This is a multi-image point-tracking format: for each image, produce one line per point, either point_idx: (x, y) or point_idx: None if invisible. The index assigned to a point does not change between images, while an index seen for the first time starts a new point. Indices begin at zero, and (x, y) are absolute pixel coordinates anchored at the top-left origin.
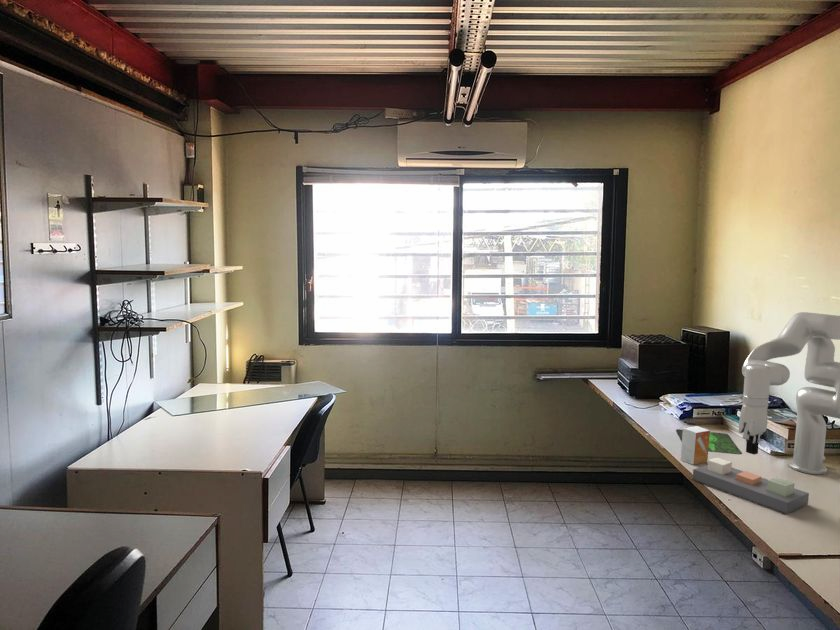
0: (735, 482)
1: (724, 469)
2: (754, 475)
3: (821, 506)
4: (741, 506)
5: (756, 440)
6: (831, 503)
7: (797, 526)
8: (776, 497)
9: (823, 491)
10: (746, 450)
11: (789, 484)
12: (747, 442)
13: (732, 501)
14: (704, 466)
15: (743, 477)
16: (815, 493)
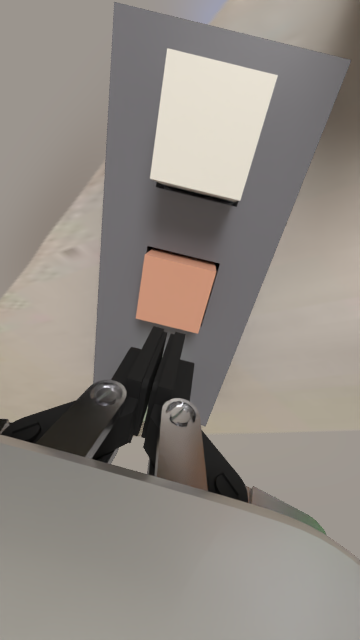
0: (117, 258)
1: (173, 185)
2: (189, 312)
3: (218, 419)
4: (58, 293)
5: (151, 454)
6: (254, 431)
7: (68, 397)
8: (102, 377)
9: (334, 417)
10: (152, 332)
11: (143, 420)
12: (128, 376)
13: (67, 264)
14: (215, 38)
15: (141, 284)
16: (304, 406)
